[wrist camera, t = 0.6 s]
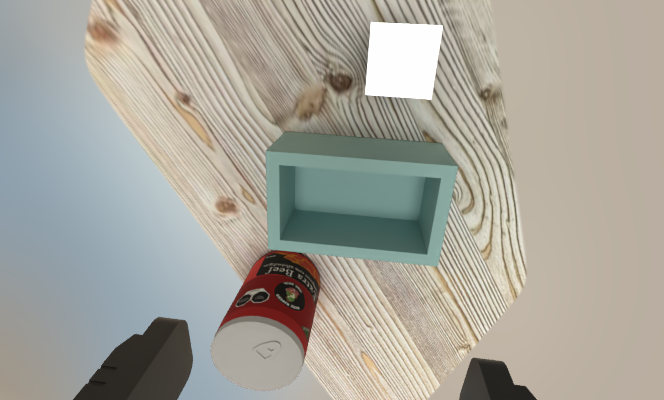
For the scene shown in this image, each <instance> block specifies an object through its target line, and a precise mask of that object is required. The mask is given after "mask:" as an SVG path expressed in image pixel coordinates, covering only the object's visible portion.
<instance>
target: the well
mask: <svg viewBox="0 0 664 400" xmlns="http://www.w3.org/2000/svg"><path fill="white" fill-rule="evenodd" d="M457 170H458V165H457V164H456V163H455V161H454V160H453V158H452V157H451V156H450V154H449V153H448V151H447V150H446V149H445V147H444V146H443V144H442V143H431V142H418V141H405V140H391V139H378V138H364V137H351V136H338V135H324V134H311V133H298V132H285V133H284V134H283V135H282V136H281V137H280V138H279V139H278V140H277V141H276V142H275V143H274V144H272V145H271V146H270V147H269V148H268V149H267V150H266V181H267V219H268V249H271V250H280V251H290V252H300V253H310V254H320V255H330V256H339V257H349V258H359V259H369V260H379V261H389V262H398V263H408V264H418V265H428V266H438V263H439V258H440V253H441V248H442V243H443V238H444V234H445V229H446V224H447V219H448V214H449V209H450V204H451V199H452V194H453V189H454V184H455V179H456V174H457Z"/></svg>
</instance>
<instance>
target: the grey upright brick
mask: <svg viewBox="0 0 664 400" xmlns="http://www.w3.org/2000/svg"><path fill="white" fill-rule="evenodd" d="M442 28H443V26H439V25H419V24H399V23H378V22H371V29H370V41H369V53H368V65H367V77H366V88H365V95H372V96H387V97H402V98H417V99H431V98H432V91H433V85H434V79H435V72H436V66H437V60H438V53H439V47H440V41H441V34H442Z"/></svg>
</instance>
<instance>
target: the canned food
mask: <svg viewBox="0 0 664 400" xmlns="http://www.w3.org/2000/svg"><path fill="white" fill-rule="evenodd" d="M319 291H320V279H319V275H318V272H317V270H316V267H315V266H314V265H313V263H312V262H311V261H310V260H309V259H308V258H306V257H305V256H303V255H301V254H299V253H296V252H290V251H274V252H271V253H269V254H267V255H265V256H263V257H262V258H261V259H259V260H258V261H257V262H256V263H255V264H254V266H253V267H252V269H251V271H250V272H249V274H248V276H247V278H246V280H245V281H244V283H243V285H242V287H241V289H240V290H239V292H238V294H237V296H236V298H235V300H234V302H233V303H232V305H231V307H230V308H229V310H228V312H227V314H226V316H225V317H224V319H223V321H222V323H221V325H220V327H219V329H218V331H217V332H216V334H215V337H214V340H213V343H212V345H211V356H212V360H213V362H214V365H215V366H216V368H217V369H218V370H219V372H220V373H221V374H222V375H223V376H224V377H226V378H227V379H228V380H229V381H231V382H233V383H234V384H237V385H238V386H241V387H244V388H247V389H251V390H257V391H271V390H276V389H280V388H283V387H285V386H287V385H289V384H290V383H292V382H293V381H294V380H295V379H296V378H297V377H298V375H299V373H300V372H301V369H302V366H303V363H304V359H305V355H306V351H307V347H308V342H309V337H310V333H311V328H312V323H313V319H314V314H315V309H316V305H317V300H318V295H319Z"/></svg>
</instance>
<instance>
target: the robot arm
mask: <svg viewBox="0 0 664 400" xmlns="http://www.w3.org/2000/svg"><path fill="white" fill-rule="evenodd" d="M192 363H193V356H192V349H191V343H190V336H189V330H188V325H187V322H186V321H185V320H178V319H171V318H163V317H158V318H156V319H155V320H154V321H153V322H152V323H151V325H150V326H149V327H148V329H147V330H146V331H145V332H144V334H143V335H138V334H134V335H133V336H131V337H130V338H129V339H127V340H126V341H125V342H123V343H122V344H120V345H119V346H118V347H116V348H115V349H114V351H113V352H112V353H111V354H110V355H109V357H108V358H107V359H106V360H105V361H104V363H103V364H102V365H101V368H100V369H98V370H97V371H96V372H95V374H94V375H93V376H92V377H91V379H90V380H89V383H88V384H86V385H85V386H84V387H83V388H82V389H81V391H80V392H79V393H78V394H77V395H76V397H75V398H74V399H73V400H177V399H178V397H179V395H180V393H181V392H182V390H183V388H184V386H185V384H186V382H187V380H188V378H189V375H190V372H191V368H192ZM459 400H537V399H536V398H535V397H534V396H533V395H532V393H531V392H530V391H529V390H528V389H527V387H525V386H520V385H514V383H513V381H512V378H511V376H510V374H509V371H508V368H507V366H506V365H505V363H504V362H502V361H496V360H487V359H480V358H472V360H471V362H470V365H469V368H468V371H467V374H466V377H465V380H464V384H463V387H462V390H461V393H460V399H459Z"/></svg>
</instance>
